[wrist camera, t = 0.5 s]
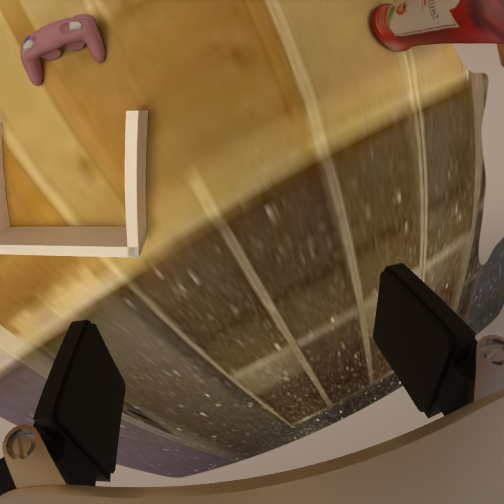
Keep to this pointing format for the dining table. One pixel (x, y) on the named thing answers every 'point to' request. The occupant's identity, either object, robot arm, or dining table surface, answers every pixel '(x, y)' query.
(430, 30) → the red glass bottle
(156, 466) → the dining table surface
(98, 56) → the video game controller
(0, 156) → the bin
